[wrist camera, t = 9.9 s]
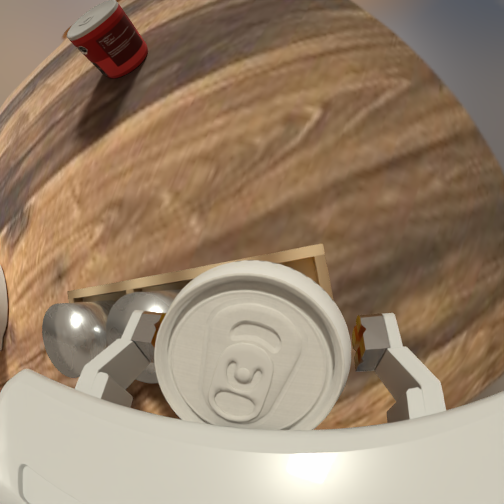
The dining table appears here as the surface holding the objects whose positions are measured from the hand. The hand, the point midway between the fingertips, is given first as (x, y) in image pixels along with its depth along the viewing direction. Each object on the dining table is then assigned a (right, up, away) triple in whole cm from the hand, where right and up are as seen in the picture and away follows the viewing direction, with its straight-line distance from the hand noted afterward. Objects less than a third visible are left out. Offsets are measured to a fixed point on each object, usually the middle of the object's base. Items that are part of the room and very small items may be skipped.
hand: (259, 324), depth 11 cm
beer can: (+2, -2, +11) cm, 11 cm away
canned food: (-19, +31, +19) cm, 42 cm away
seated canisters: (-10, -4, +12) cm, 16 cm away
